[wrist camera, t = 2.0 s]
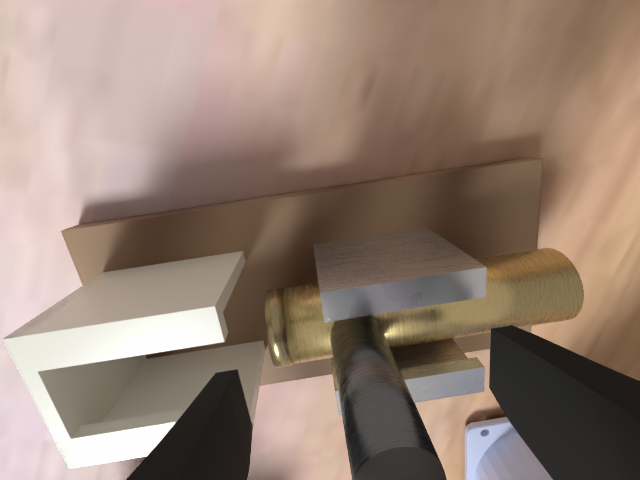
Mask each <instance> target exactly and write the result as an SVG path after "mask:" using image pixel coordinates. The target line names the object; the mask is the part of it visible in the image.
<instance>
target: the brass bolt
mask: <svg viewBox="0 0 640 480" xmlns="http://www.w3.org/2000/svg"><path fill="white" fill-rule="evenodd" d="M475 260H477V261H478V262H480V263H481V264H483V265H484V266H486V297H483V298H477V299H470V300H464V301H458V302H451V303H445V304H439V305H432V306H426V307H420V308H413V309H407V310H401V311H394V312H388V313H382V314H375V315H369V316H363V317H356V318H350V319H344V320H337V321H331V322H325V323H324V317H323V310H322V304H321V297H320V291H319V283H317V284H310V285H304V286H298V287H291V288H285V289H284V287H283V288H276V289H270V290H267V291H266V295H265V325H266V334H267V341H268V347H269V351H270V356H271V359H272V362H273V364H274V366H275V367H276V368H280V367H286V366H292V365H294V364H295V363H302V362H308V361H314V360H320V359H327V358H333V360H334V367H335V373H336V379H337V386H338V392H339V398H340V405H341V411H342V417H343V424H344V430H345V436H346V443H347V449H348V455H349V462H350V468H351V474H352V480H447V479H446V475H445V472H444V469H443V467H442V464H441V462H440V460H439V458H438V455H437V453H436V451H435V448H434V446H433V444H432V442H431V439H430V437H429V435H428V433H427V430H426V428H425V426H424V424H423V421H422V419H421V417H420V415H419V412H418V410H417V408H416V405H415V403H414V401H413V399H412V396H411V394H410V392H409V390H408V387H407V385H406V383H405V381H404V378H403V376H402V374H401V371H400V369H399V367H398V365H397V362H396V360H395V358H394V356H393V353H392V351H391V349H390V348H395V347H402V346H408V345H414V344H420V343H427V342H433V341H439V340H445V339H452V338H458V337H464V336H470V335H477V334H483V333H489V332H491V329H492V328H498V327H505V326H511V325H513V326H515V327H518V328H520V327H527V326H533V325H539V324H545V323H552V322H558V321H564V320H569V319H572V318H574V317H575V316H577V315H578V313H579V312H580V310H581V308H582V305H583V301H584V291H583V285H582V282H581V279H580V276H579V274H578V272H577V270H576V268H575V267H574V265H573V264H572V262H571V261H570V260H569V259H568V258H567V257H566V256H565V255H564V254H562V253H561V252H559V251H557V250H555V249H552V248H542V249H535V250H529V251H523V252H516V253H510V254H503V255H497V256H490V257H484V258H478V259H475Z"/></svg>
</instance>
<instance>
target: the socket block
mask: <svg viewBox="0 0 640 480" xmlns="http://www.w3.org/2000/svg"><path fill="white" fill-rule="evenodd" d="M245 262H246V261H245V257H244V253H243V251H240V252H233V253H227V254H220V255H214V256H207V257H201V258H194V259H188V260H181V261H175V262H168V263H162V264H155V265H149V266H142V267H135V268H129V269H122V270H116V271H109V272H103V273H101V274H100V275H98V276H97V277H95V278H94V279H92V280H91V281H89V282H88V283H86V284H85V285H83V286H82V287H80V288H79V289H77V290H76V291H74V292H73V293H71V294H70V295H68V296H67V297H65V298H64V299H62V300H61V301H59V302H58V303H56V304H55V305H53V306H52V307H50V308H49V309H47V310H46V311H44V312H43V313H41V314H40V315H38V316H37V317H35V318H34V319H32V320H31V321H29V322H28V323H26V324H25V325H23V326H22V327H20V328H19V329H17V330H16V331H14V332H13V333H11V334H10V335H8V336H7V337H5V338H4V339H2V340H3V342H4V343H5V345H6V347H7V349H8V351H9V353H10V355H11V357H12V359H13V361H14V363H15V365H16V367H17V369H18V371H19V373H20V375H21V377H22V378H23V380H24V382H25V384H26V386H27V388H28V390H29V392H30V394H31V396H32V398H33V400H34V402H35V404H36V406H37V408H38V410H39V412H40V413H41V415H42V417H43V419H44V421H45V423H46V425H47V427H48V429H49V431H50V433H51V435H52V437H53V439H54V441H55V443H56V445H57V447H58V448H59V450H60V452H61V454H62V456H63V458H64V460H65V462H66V464H67V466H68V468H69V469H73V468H79V467H85V466H91V465H97V464H104V463H110V462H116V461H122V460H128V459H134V458H140V457H146V456H148V455H149V454H150V452H151V451H152V450H153V449H154V448H155V447H156V446H157V444H158V443H159V442H160V441H161V440H162V439H163V437H164V436H165V435H166V434H167V433H168V431H169V430H170V429H171V428H172V427H173V425H174V424H175V423H176V422H177V420H178V419H179V418H180V417H181V416H182V414H183V413H184V412H185V411H186V409H187V408H188V407H189V406H190V404H191V403H192V402H193V401H194V399H195V398H196V397H197V396H198V394H199V393H200V392H201V390H202V389H203V388H204V387H205V385H206V384H207V383H208V382H209V380H210V379H211V378H212V377H213V376H214V374H215V373H217V372H224V371H230V370H236V369H238V373H239V377H240V380H241V384H242V388H243V392H244V396H245V399H246V403H247V407H248V411H249V415H250V418H251V422H252V429H253V423H254V417H255V410H256V404H257V398H258V392H259V386H260V380H261V373H262V367H263V361H264V355H265V345H264V341H257V342H250V343H244V344H238V345H231V346H225V347H219V348H212V349H206V350H200V351H193V352H187V353H181V354H174V355H168V356H162V357H156V358H149V359H146V356H145V355H146V354H152V353H158V352H165V351H171V350H177V349H184V348H190V347H196V346H203V345H209V344H215V343H222V342H225V340H226V337H227V334H228V330H227V326H226V322H225V318H224V315H223V312H224V309H225V307H226V305H227V303H228V300H229V298H230V296H231V294H232V291H233V289H234V287H235V285H236V282H237V280H238V278H239V276H240V273H241V271H242V269H243V267H244V264H245Z"/></svg>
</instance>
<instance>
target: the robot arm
mask: <svg viewBox="0 0 640 480" xmlns="http://www.w3.org/2000/svg"><path fill="white" fill-rule="evenodd" d="M489 388H490V389H491V391H492V393H493V395H494V396H495V398H496V400H497V402H498V403H499V405H500V407H501V408H502V410H503V412H504V413H505V415H506V417H502V418H496V419H490V420H484V421H478V422H472V423H469V424H468V425H467V426H466V427H465V480H640V381H638V380H635V379H633V378H630V377H628V376H626V375H623V374H621V373H619V372H616V371H614V370H612V369H610V368H607V367H605V366H603V365H601V364H598V363H596V362H594V361H592V360H589V359H587V358H585V357H583V356H580V355H578V354H576V353H574V352H572V351H570V350H567V349H565V348H563V347H561V346H559V345H556V344H554V343H552V342H550V341H548V340H545V339H543V338H541V337H539V336H537V335H534V334H532V333H530V332H528V331H525V330H523V329H520V328H518V327H515V326H513V325H511V326H505V327H498V328H492V329H491V344H490V383H489ZM251 441H252V422H251V418H250V415H249V411H248V407H247V403H246V399H245V396H244V392H243V388H242V384H241V380H240V377H239V373H238V369H236V370H230V371H224V372H217V373H215V374H214V376H213V377H212V378H211V379H210V380H209V382H208V383H207V384H206V385H205V387H204V388H203V389H202V390H201V392H200V393H199V394H198V396H197V397H196V398H195V399H194V401H193V402H192V403H191V404H190V406H189V407H188V408H187V409H186V411H185V412H184V413H183V414H182V416H181V417H180V418H179V419H178V420H177V422H176V423H175V424H174V425H173V427H172V428H171V429H170V430H169V431H168V433H167V434H166V435H165V436H164V437H163V439H162V440H161V441H160V442H159V443H158V444H157V446H156V447H155V448H154V449H153V450H152V451H151V452H150V454H149V455H148V456H147V457H146V458H145V459H144V460H143V461H142V463H141V464H140V465H139V466H138V467H137V468H136V469H135V471H134V472H133V473H132V474H131V475H130V476H129V477H128V478H127V480H247V477H248V471H249V465H250V453H251Z"/></svg>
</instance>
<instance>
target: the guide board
mask: <svg viewBox="0 0 640 480" xmlns="http://www.w3.org/2000/svg"><path fill="white" fill-rule="evenodd" d="M542 167H543V159H540V158H521V159H514V160H507V161H501V162H494V163H487V164H481V165H474V166H467V167H461V168H454V169H447V170H441V171H434V172H427V173H421V174H414V175H407V176H401V177H394V178H387V179H381V180H374V181H367V182H361V183H354V184H347V185H341V186H334V187H327V188H321V189H314V190H307V191H301V192H294V193H287V194H281V195H274V196H267V197H261V198H254V199H247V200H241V201H234V202H227V203H221V204H214V205H207V206H201V207H194V208H187V209H181V210H174V211H167V212H161V213H154V214H147V215H141V216H134V217H127V218H121V219H114V220H107V221H101V222H94V223H87V224H81V225H76V226H73V227H71V228H68V229H65V230H63V231H61V232H62V235H63V237H64V240H65V242H66V245H67V247H68V250H69V252H70V255H71V257H72V260H73V262H74V265H75V267H76V270H77V272H78V275H79V277H80V280H81V282H82V285H85V284H86V283H88V282H89V281H91V280H92V279H94V278H95V277H97V276H98V275H100V274H101V273H103V272H109V271H116V270H122V269H129V268H135V267H142V266H149V265H155V264H162V263H168V262H175V261H181V260H188V259H194V258H201V257H207V256H214V255H220V254H227V253H233V252H240V251H243V253H244V257H245V261H246V262H245V264H244V267H243V269H242V271H241V273H240V276H239V278H238V280H237V282H236V285H235V287H234V289H233V291H232V294H231V296H230V298H229V300H228V303H227V305H226V307H225V309H224V312H223V315H224V318H225V322H226V326H227V330H228V334H227V337H226V340H225V342H222V343H215V344H209V345H203V346H196V347H190V348H184V349H177V350H171V351H165V352H158V353H152V354H146V355H145V356H146V359H149V358H156V357H162V356H168V355H174V354H181V353H187V352H193V351H200V350H206V349H212V348H219V347H225V346H231V345H238V344H244V343H250V342H257V341H264V345H265V355H264V361H263V367H262V373H261V380H260V386H261V385H267V384H273V383H279V382H285V381H292V380H298V379H304V378H310V377H316V376H323V375H329V374H333V379H334V387H335V394H336V400H337V407H338V413H339V415H342V411H341V405H340V398H339V392H338V386H337V379H336V373H335V367H334V360H333V358H327V359H320V360H314V361H308V362H302V363H295V364H294V365H292V366H286V367H280V368H276V367H275V366H274V364H273V362H272V359H271V356H270V351H269V347H268V341H267V334H266V325H265V295H266V291H267V290H270V289H276V288H283V287H284V289H285V288H291V287H298V286H304V285H310V284H317V283H319V291H320V297H321V304H322V310H323V317H324V323H325V322H331V321H337V320H344V319H350V318H356V317H363V316H369V315H375V314H382V313H388V312H394V311H401V310H407V309H413V308H420V307H426V306H432V305H439V304H445V303H451V302H458V301H464V300H470V299H477V298H483V297H486V266H484V265H483V264H481V263H480V262H478V261H477V260H475V259H478V258H484V257H490V256H497V255H503V254H510V253H516V252H523V251H529V250H535V249H537V239H538V225H539V210H540V196H541V181H542ZM520 329H523V330H525V331H528V332H530V333H531V326H527V327H520ZM490 344H491V332H489V333H483V334H477V335H470V336H464V337H458V338H452V339H445V340H439V341H433V342H427V343H420V344H414V345H408V346H402V347H395V348H390V349H391V351H392V353H393V356H394V358H395V360H396V362H397V365H398V367H399V369H400V371H401V374H402V376H403V378H404V381H405V383H406V385H407V387H408V390H409V392H410V394H411V396H412V399H413V401H414V403H416V402H422V401H428V400H434V399H440V398H447V397H453V396H459V395H465V394H471V393H477V392H483V391H484V370H485V367H484V366H483V365H482V363H481V362H480V361H479V360H478V359H477V357H476V358H469V359H468V358H467V357H466V355H465V354H464V353H466V352H472V351H478V350H484V349H490Z"/></svg>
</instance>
